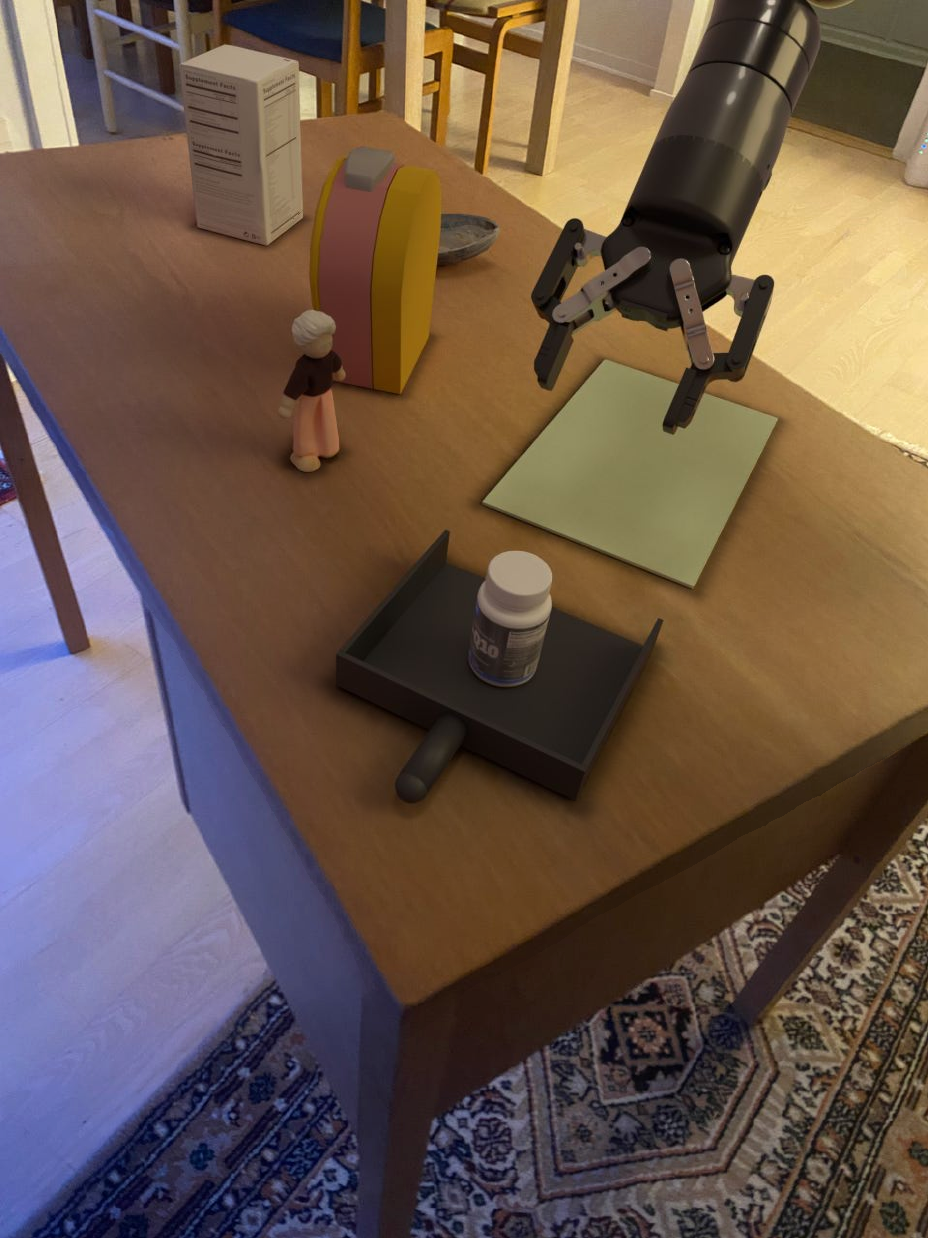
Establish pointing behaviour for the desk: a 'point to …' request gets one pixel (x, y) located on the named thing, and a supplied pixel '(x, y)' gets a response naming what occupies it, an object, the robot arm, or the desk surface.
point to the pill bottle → (510, 619)
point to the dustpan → (471, 708)
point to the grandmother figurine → (313, 391)
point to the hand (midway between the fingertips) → (605, 407)
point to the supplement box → (244, 142)
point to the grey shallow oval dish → (465, 237)
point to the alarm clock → (376, 264)
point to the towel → (636, 472)
